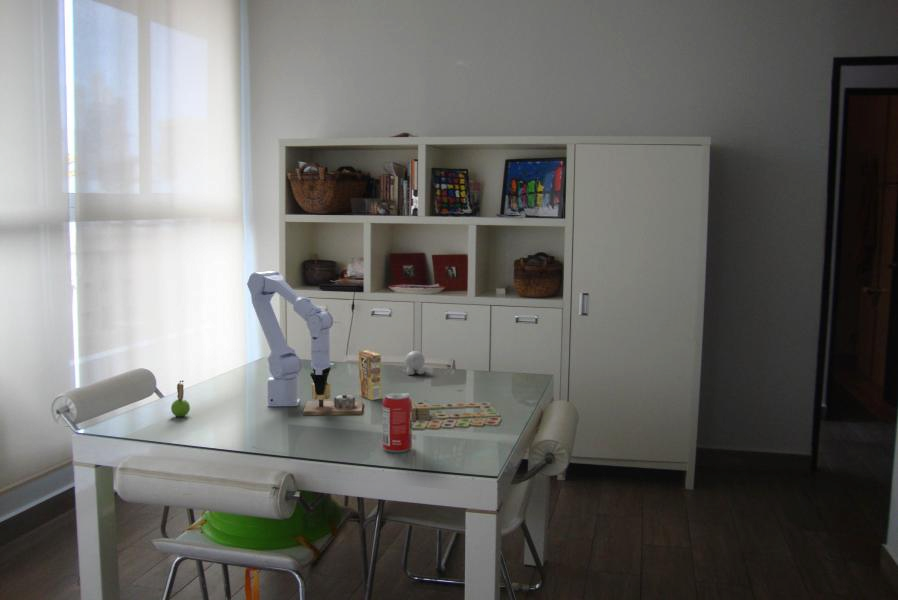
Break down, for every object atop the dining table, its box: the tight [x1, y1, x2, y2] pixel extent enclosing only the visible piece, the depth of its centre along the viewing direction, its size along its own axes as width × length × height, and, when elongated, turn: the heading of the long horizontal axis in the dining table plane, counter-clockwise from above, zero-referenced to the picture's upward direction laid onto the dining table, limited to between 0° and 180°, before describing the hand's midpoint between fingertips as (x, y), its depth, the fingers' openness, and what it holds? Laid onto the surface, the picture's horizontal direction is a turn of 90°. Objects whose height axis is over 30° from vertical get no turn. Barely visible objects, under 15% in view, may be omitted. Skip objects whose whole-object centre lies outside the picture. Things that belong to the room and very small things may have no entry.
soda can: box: [381, 392, 413, 454], centre depth 222 cm, size 8×8×15 cm
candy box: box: [358, 350, 382, 401], centre depth 280 cm, size 9×4×15 cm, turn 33°
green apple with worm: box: [170, 380, 191, 418], centre depth 254 cm, size 5×6×12 cm
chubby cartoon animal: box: [404, 350, 426, 376], centre depth 320 cm, size 8×12×9 cm, turn 4°
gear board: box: [302, 394, 364, 416], centre depth 264 cm, size 18×13×5 cm
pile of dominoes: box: [412, 401, 503, 431], centre depth 257 cm, size 35×27×6 cm
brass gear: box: [311, 381, 332, 401], centre depth 263 cm, size 6×6×4 cm
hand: (321, 392), depth 263 cm, fingers closed on brass gear, 6 cm apart
